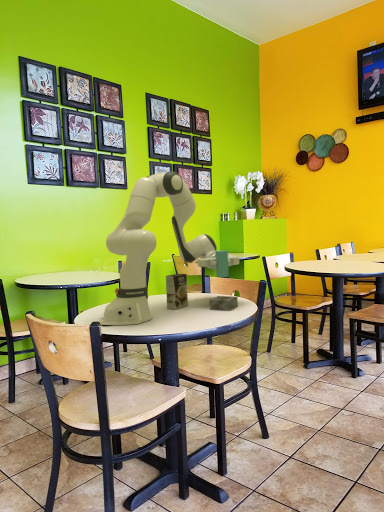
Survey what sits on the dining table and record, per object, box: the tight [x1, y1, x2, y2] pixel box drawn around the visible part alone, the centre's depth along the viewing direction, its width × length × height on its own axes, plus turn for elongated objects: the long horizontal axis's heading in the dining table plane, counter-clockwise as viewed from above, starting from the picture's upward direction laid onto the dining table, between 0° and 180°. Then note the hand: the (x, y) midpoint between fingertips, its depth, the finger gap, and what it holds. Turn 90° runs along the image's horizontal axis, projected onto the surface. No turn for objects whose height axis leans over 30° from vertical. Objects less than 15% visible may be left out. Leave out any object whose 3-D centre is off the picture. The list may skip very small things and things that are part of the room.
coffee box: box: [165, 273, 189, 310], centre depth 194 cm, size 9×6×16 cm
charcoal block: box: [209, 295, 239, 312], centre depth 187 cm, size 10×10×5 cm
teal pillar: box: [215, 250, 229, 278], centre depth 185 cm, size 4×4×12 cm
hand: (222, 262), depth 184 cm, fingers closed on teal pillar, 4 cm apart
